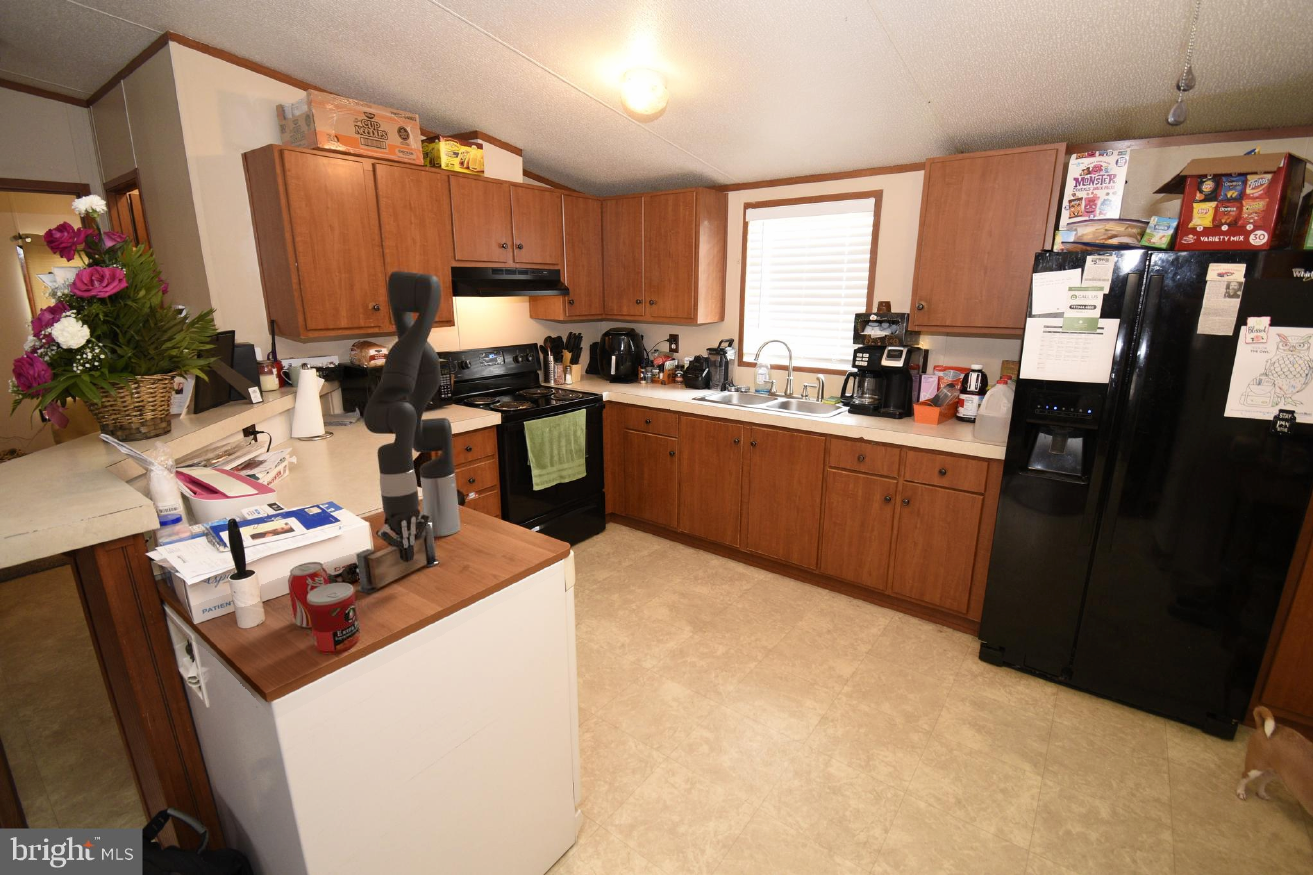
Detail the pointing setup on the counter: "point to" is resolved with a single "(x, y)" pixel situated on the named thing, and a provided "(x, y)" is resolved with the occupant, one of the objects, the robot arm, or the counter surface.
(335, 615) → the canned food
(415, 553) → the gate
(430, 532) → the hinge post
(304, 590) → the soda can
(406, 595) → the counter surface
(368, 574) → the post
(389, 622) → the counter surface
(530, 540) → the counter surface
